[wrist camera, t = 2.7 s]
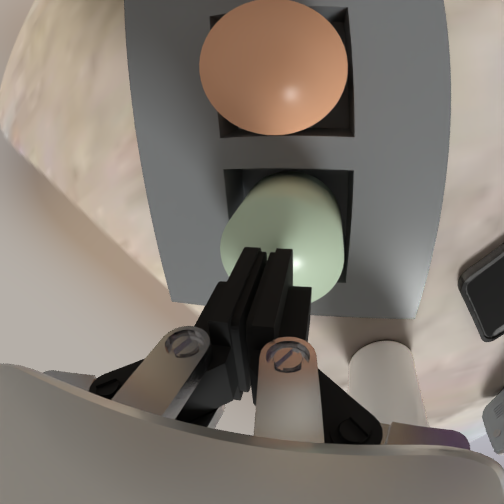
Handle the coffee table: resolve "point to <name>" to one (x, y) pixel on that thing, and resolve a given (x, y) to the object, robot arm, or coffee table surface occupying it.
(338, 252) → the button sage
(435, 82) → the grey slotted block
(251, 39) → the button terracotta
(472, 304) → the phone
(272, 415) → the robot arm
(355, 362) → the drinking glass
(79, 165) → the coffee table surface
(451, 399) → the coffee table surface
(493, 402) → the handheld gaming console
